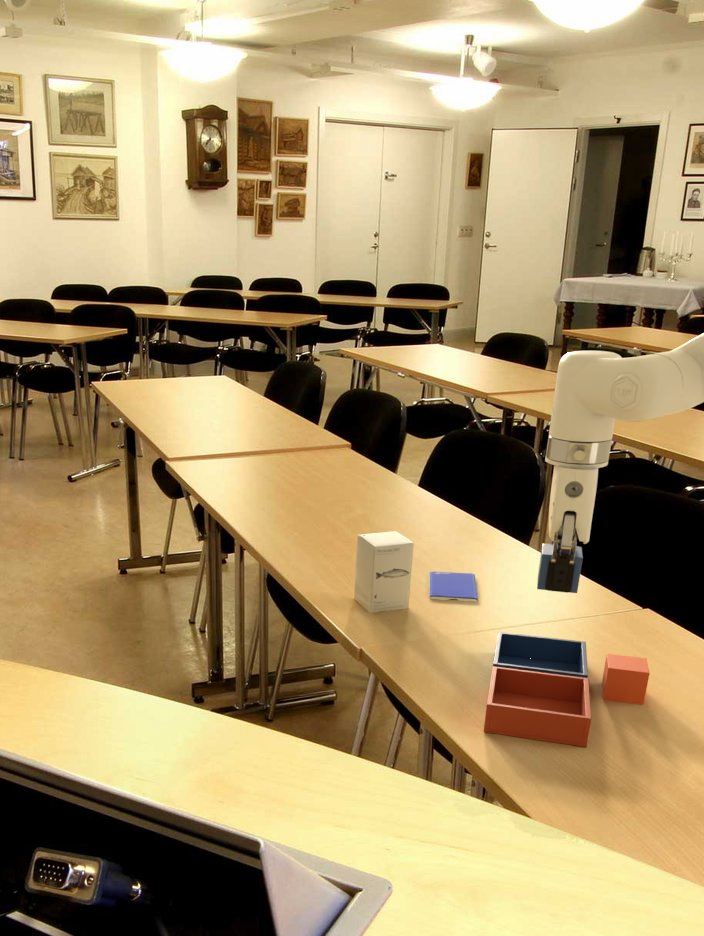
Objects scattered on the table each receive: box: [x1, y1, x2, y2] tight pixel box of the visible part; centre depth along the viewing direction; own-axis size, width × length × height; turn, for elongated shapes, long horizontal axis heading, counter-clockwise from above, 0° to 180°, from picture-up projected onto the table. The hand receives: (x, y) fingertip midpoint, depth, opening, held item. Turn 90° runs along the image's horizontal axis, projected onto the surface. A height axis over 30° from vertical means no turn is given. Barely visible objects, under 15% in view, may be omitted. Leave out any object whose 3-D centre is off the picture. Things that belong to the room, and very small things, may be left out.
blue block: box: [536, 543, 584, 594], centre depth 123 cm, size 5×5×5 cm
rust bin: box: [483, 665, 592, 748], centre depth 119 cm, size 12×12×4 cm
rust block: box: [601, 653, 650, 706], centre depth 124 cm, size 5×5×5 cm
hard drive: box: [428, 571, 479, 603], centre depth 164 cm, size 2×8×12 cm
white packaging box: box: [353, 530, 415, 614], centre depth 156 cm, size 7×7×13 cm
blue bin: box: [492, 631, 589, 679], centre depth 131 cm, size 12×12×4 cm
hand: (557, 582), depth 124 cm, fingers closed on blue block, 5 cm apart
